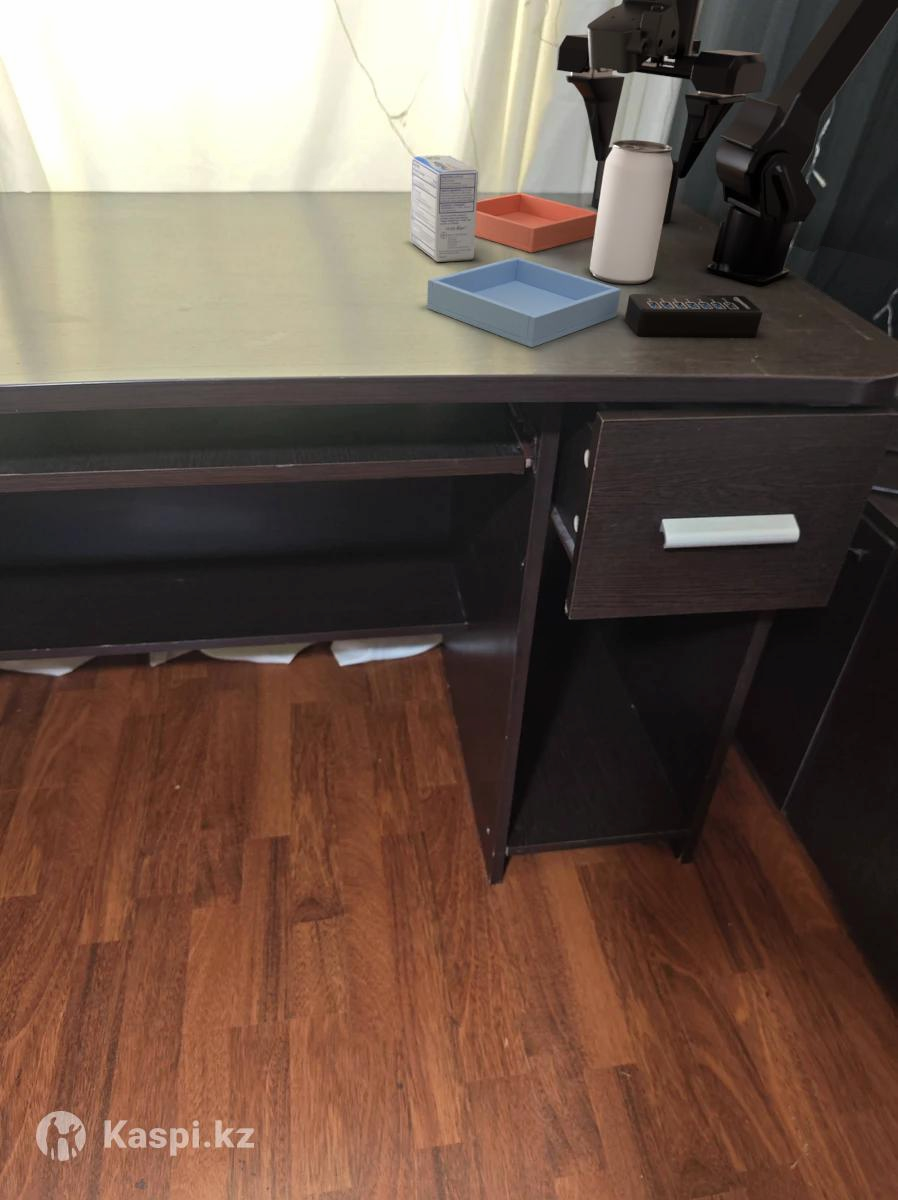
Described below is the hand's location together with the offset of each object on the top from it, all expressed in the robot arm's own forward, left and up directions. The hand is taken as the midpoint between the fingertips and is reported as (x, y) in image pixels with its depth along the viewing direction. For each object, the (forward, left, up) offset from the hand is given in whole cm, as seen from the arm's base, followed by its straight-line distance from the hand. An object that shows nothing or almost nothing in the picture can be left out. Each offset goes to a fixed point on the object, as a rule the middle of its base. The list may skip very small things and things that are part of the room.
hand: (639, 169), depth 82 cm
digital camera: (+15, -23, -10) cm, 29 cm away
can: (0, 0, -10) cm, 10 cm away
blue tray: (-1, +17, -10) cm, 20 cm away
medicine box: (+17, +9, -10) cm, 22 cm away
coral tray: (+17, -5, -10) cm, 20 cm away
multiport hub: (-13, +8, -10) cm, 18 cm away
